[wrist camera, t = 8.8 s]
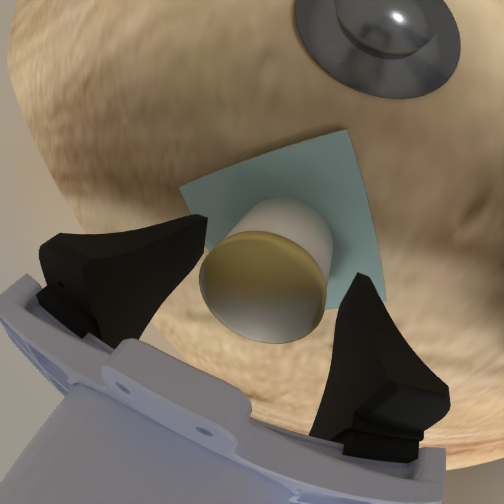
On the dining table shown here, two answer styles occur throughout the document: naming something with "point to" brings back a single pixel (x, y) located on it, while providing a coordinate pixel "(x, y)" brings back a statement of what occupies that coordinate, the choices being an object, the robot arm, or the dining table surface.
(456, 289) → the dining table surface
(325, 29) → the grey round lid
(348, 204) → the coaster
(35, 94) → the dining table surface
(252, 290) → the can
